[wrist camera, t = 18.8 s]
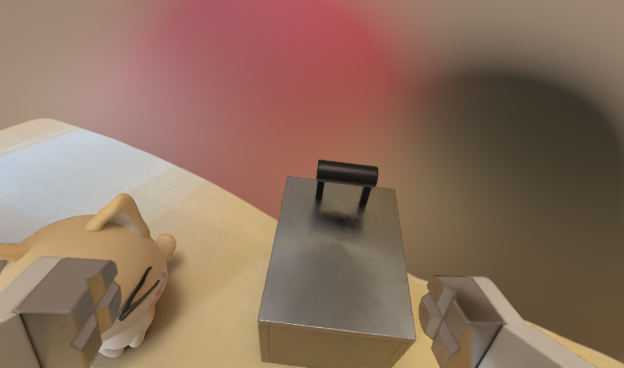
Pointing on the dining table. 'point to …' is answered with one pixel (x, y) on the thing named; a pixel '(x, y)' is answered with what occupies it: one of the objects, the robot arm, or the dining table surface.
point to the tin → (326, 349)
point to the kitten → (107, 246)
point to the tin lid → (339, 258)
